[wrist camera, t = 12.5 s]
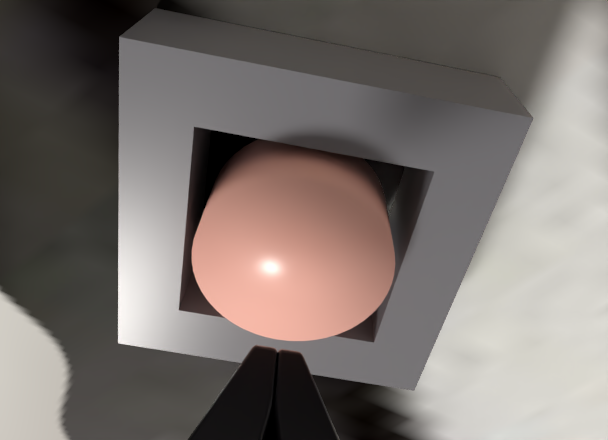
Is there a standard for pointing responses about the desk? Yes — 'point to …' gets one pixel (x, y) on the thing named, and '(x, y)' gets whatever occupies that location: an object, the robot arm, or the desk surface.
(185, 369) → the desk surface
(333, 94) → the button housing
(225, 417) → the robot arm
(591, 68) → the desk surface
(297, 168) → the button
